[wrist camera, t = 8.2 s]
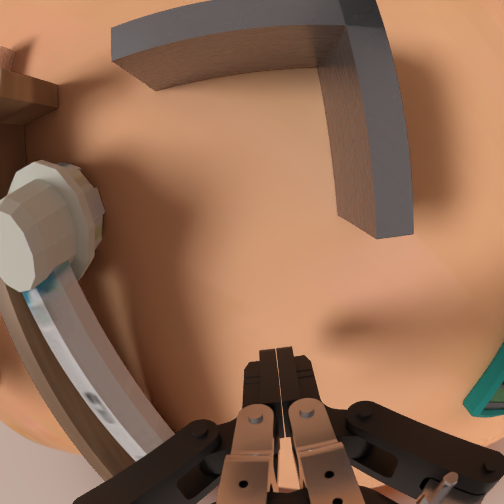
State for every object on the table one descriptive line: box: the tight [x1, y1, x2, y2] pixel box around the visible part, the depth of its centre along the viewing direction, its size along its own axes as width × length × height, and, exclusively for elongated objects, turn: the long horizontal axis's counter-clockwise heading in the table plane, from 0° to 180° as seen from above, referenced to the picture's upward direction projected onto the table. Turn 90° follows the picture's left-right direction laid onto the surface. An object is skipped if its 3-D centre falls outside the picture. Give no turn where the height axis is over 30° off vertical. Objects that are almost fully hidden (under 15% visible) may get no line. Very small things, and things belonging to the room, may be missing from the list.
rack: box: [0, 69, 136, 481], centre depth 14 cm, size 4×32×5 cm, turn 8°
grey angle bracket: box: [111, 0, 414, 239], centre depth 11 cm, size 10×9×5 cm
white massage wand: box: [0, 160, 175, 461], centre depth 15 cm, size 5×7×25 cm
